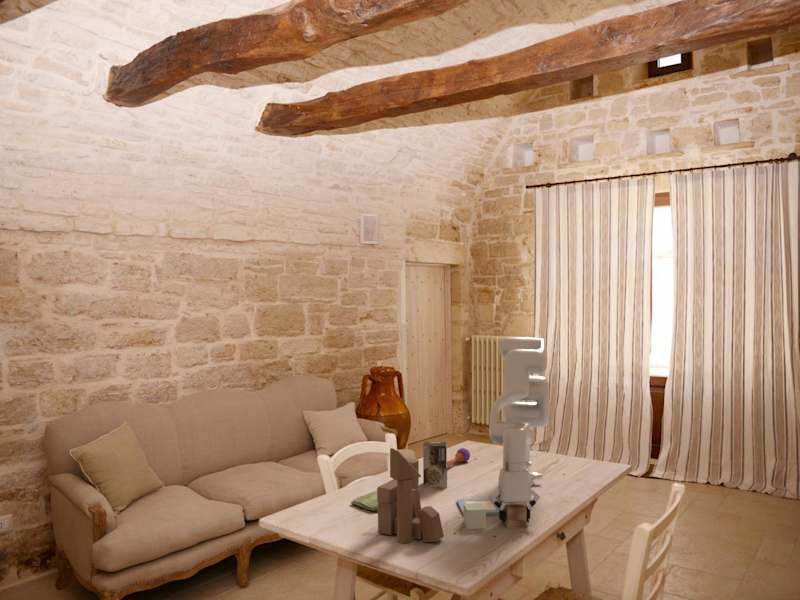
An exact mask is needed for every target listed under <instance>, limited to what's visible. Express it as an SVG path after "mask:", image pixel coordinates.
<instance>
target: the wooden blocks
mask: <svg viewBox="0 0 800 600" xmlns="http://www.w3.org/2000/svg"><path fill="white" fill-rule="evenodd" d="M389 450H390V451H389V470H390V471H389V477H390V478H392V479H391V480H389V481H387V482H385V483H383V484H381V485H379V486H377V487H376V491H377V502H378V512H377V513H378V514H377V532H378V533H379V534H383V535H388V536H392V535H393V534H394V535H396V540H397V542H399V543H400V544H401V543H402V544H408V543H411V542H412V541H413V539H417V540H422V539H423V542H424V543H437V542H438V541H440V540H441V539H443V538H444V537H445V534H444V529H443V525H442V520H441V516H440V513H439V512H438V511H437V510H436V509H435V508H434V507H433V506H431V505H427V506H424V507H422V505H421V487H419V485H420V484H419V478H421V476H422V474H420V472H419V467H420V466H419V462H420V461H419V459H415V458H408V457H404V455H403V454H402V453H401V452H400V451H399V450H397V449H395V448H392V447H390V449H389Z"/></svg>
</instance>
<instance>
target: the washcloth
mask: <svg viewBox="0 0 800 600" xmlns="http://www.w3.org/2000/svg"><path fill="white" fill-rule="evenodd" d="M350 504H351V505H353V506H356V505H357V506H356V507H359V506H360V507H359V508H361V509H366V510H370V511H373V512H376V513H378V502H377V490H374V491H373V490H372V491H371V492H369V493H367V494H364V495H360V496H357V497H356V498H354V499H353V500H352V501H351V502H350Z"/></svg>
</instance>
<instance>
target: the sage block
mask: <svg viewBox="0 0 800 600" xmlns="http://www.w3.org/2000/svg"><path fill="white" fill-rule="evenodd" d="M463 524H464V526H465V528H466V530H470V529H471V530H473V529H474V530H477V529H480V530H481V529H487V516H486V509H485V507H484V506H483V504H482V503H471V504H464V516H463Z"/></svg>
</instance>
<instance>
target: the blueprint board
mask: <svg viewBox="0 0 800 600" xmlns="http://www.w3.org/2000/svg"><path fill="white" fill-rule="evenodd" d="M496 500H497V501H498V499H497V498H496ZM456 503H457V505H458V508H459V509H460V511H461V514H462V515H463V517H464V504H471V503H482V504H483V506H484V507H485V509H486V517H487V516H499V508H498V507H497V506H496V505H495V504H494V503H493V502H492V500H491V499H490V498H460V499H459V498H458V499H456Z"/></svg>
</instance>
